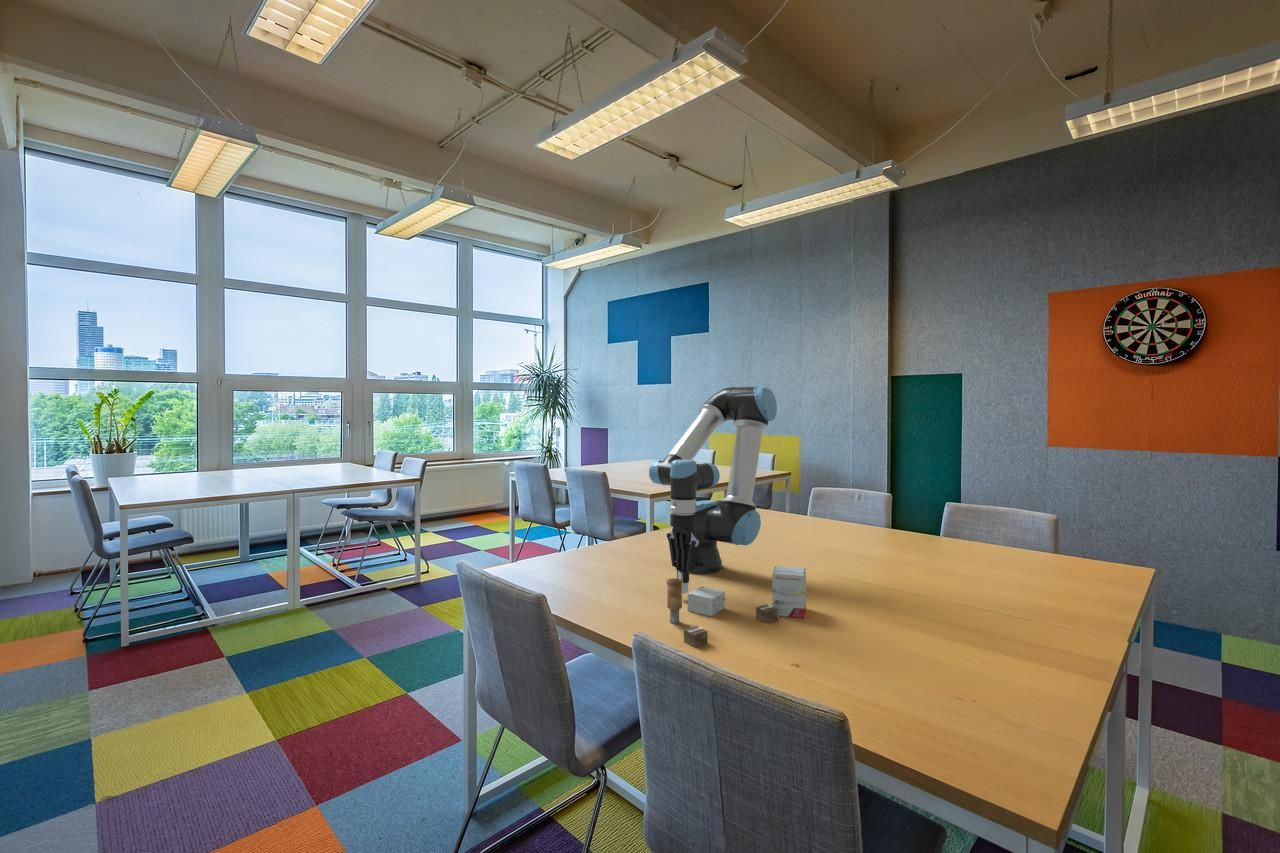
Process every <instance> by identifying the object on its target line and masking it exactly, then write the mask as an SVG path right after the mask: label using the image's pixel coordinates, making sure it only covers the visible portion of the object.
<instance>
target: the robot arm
mask: <svg viewBox="0 0 1280 853" xmlns="http://www.w3.org/2000/svg"><path fill="white" fill-rule="evenodd" d="M777 412H778V406H777V400H776V396H775V394H774V392H773V390H771V388H769V387H767V386H758V385H757V386H739V387H738V386H731V387H726V388H723V389H720V390H719V391H717V392H716V393H714V394H713V395H711V396H710V397H709V398H708V399H707V400H705V401H704V403H703V404H702V406H701V407H700V408H699V409H698V415H697V416H696V418H694V420H693V421H692V422H691V424H690V425H689V427H688V428H687V430H686V431H685V432H684V433H683V434H682V435H681V437H680V438H679V439H678V441H677V442H676V443H675V445H673V447H672V448H671V450H670V451H669V452H668V453H667V455H666V456H665V458H664V459H663V460H661V459H660V460H655V461H653V462H651V464H650V465H649V468H648V476H649V479H650V481H651V482H652V483H654V484H657V485H661V486H670V512H671V513H670V516H669V517H670V520H669V523H670V524H669V525H670V526H671V527H672V529H671V532H669V533H666V537H667V541H668V546H669V554H670V560H671V567H673V568H675V570H676V579H681V580H682V581H683V584H682V595H684V594H689V582H690V573H691V574H713V573H718V572H720V571H721V570H722V569H723V561H722V558H721V555H720V552H719V549H718V542H720V543H726V544H732V545H734V546H749V545H751V544H753V542H754V541H755V540H756V539H757V537H758V535H759V533H760V529H761V526H762V525H761V524H762V520H761V515H760V513H759V512H758V511H757V509H756V508H757V505H756V504H755V503H754V501H753V497H754V491H755V484H756V477H757V469H758V463H759V458H760V451H761V442H762V436H763V432H764V431H765V430H766V429H768V426H769V422H773V421H774V420H775V418H776V417H777V414H778V413H777ZM727 421H733V424H734V425H735V427H736V434H735V439H734V440H735V441H734V447H733V453H732V458H731V466H730V473H729V479H728V483H727V484H728V486H727V491H726V496H725V497H724V498H723V499H721V500H720V506H719V505H718V502H717V500H714V499H713V500H712V499H711V500H710V499H709V500H707V499H706V500H698V501H697V491H698V490H705V489H710V488H712V487H715V486H716V485H717V484H718V483H719V481H720V479H721V478H720V477H721V476H720V475H721V474H720V470H719V469H718V467H717V465H715V464H713V463H710V462H704V463H697V462H696V461H695V460H694V458H695V457H696V456H697V454H698V453H699V452H700V450H701V449H702V447H703V446H704V445H705V443H706V442H707V441H708V439H710V436H711V435H712V434H713V432H714V431H715V430H716V428H719V427H721V426H722V425H723V424H724V422H727Z"/></svg>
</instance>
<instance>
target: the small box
mask: <svg viewBox="0 0 1280 853" xmlns="http://www.w3.org/2000/svg"><path fill="white" fill-rule="evenodd" d="M725 592H726V591H724V590H721V589H715V588H712V587H707V586H700V587H698V588H696V589H694V590H692V591H691V592H688V593H687V611H688V612H691V613H695V614H698V615H699V614H700V615H704V616H708V617H714V616H715V615H717V614H718V613H719V612H720V611H722V610H725V608H726V607H725V606H726V605H725V604H726V603H725V599H726V598H725V595H726V594H725Z"/></svg>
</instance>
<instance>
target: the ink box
mask: <svg viewBox="0 0 1280 853" xmlns="http://www.w3.org/2000/svg"><path fill="white" fill-rule="evenodd" d="M806 572H807V571H806V567H801V566H800V567H799V566H798V567H797V566H787V565H786V566H785V565H778V564H777V565H774V568H773V571H772V573H771V576H772V578H771V581H772V582H771V586H772V587H771V588H772V605H771V606H773V607H775V608H778V617H785V618H787V617H788V618H789V617H790V618H797V619H805V617H806V613H807V612H806V611H807V610H806V608H807V599H806V598H807V597H806V596H807V573H806Z"/></svg>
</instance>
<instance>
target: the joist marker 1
mask: <svg viewBox="0 0 1280 853" xmlns="http://www.w3.org/2000/svg"><path fill="white" fill-rule="evenodd" d="M683 643H686V644H687V645H689V646H691V647H693V648H698V647H700V646H703V645H706V644H708V630H706V629H704V628H703V627H702V626H698V625H695V626H692V627H687V628H685V629H683Z"/></svg>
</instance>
